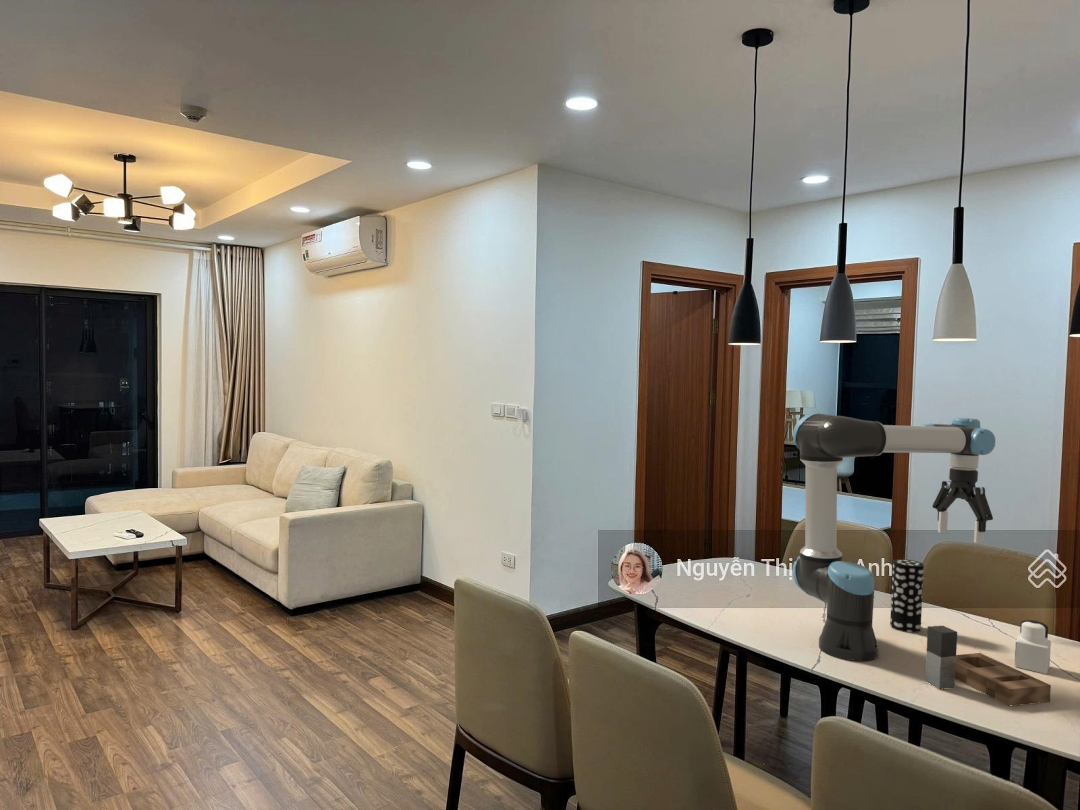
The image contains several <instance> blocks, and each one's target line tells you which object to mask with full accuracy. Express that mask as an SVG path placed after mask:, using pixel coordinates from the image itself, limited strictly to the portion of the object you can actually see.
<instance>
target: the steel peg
mask: <svg viewBox="0 0 1080 810" xmlns="http://www.w3.org/2000/svg"><path fill="white" fill-rule="evenodd" d="M957 643H958V631H957V630H954V629H951V628H950V627H947V626H945V625H933V626H931V625H930V626H927V636H926V655H925V656H926V659H925V660H926V661H925V674H924V675H925V678H924V682H925V681H926V682H928V683H930V684H931V685H930V684H929V685H930V686H932V685H933V686H935V687H937V688H939V689H942V688H943V689H942V690H945V689H944V688H952V689H955V685H956V679H955V670H956V655H957V648H958V647H957V646H958V644H957ZM926 682H925V683H926ZM928 683H927V684H928ZM933 686H932V687H933ZM935 687H934V688H935ZM937 688H936V689H937ZM939 689H938V690H939Z"/></svg>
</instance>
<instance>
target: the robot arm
mask: <svg viewBox="0 0 1080 810" xmlns="http://www.w3.org/2000/svg"><path fill="white" fill-rule="evenodd" d="M792 440H793V443H794V446H796V448H797V449H799V453H800V454H799V459H800V461H801V462H802V463H803V465H805V499H804V500H805V503H804V504H805V507H804V509H805V511H804V512H805V517H804V518H805V519H804V520H805V522H804V523H805V525H804V527H805V529H804V530H805V531H804V532H805V535H804V536H805V538H804V539H805V540H804V542H805V543H804V544H805V545H804V546H803V547H802V548H801V549H800V550H799V556H797V558H796V560H795V561H794V562H793V565H792V578H793V580H794V583H795V585H796V586H797V587H798V588H799V589H800V590H801V591H803V592H804V593H805V594H807V595H808V596H810V597H813V598H815V599H817V600H819V601H821V602H824V603H825V604H826V620H825V622H824V625H823V627H822V631H821V633H820V635H819V638H818V648H819V649H820V651H823V652H824V653H826V654H828V655H830V656H833V657H836V658H839V659H843V660H849V661H859V662H861V661H863V662H864V661H867V662H868V661H872V660H875V659H877V658H878V656H879V645H878V642H877V639H876V635H875V632H874V628H873V616H874V599H875V597H874V596H875V589H876V585H875V576H874V573H873V571H871V569H869V568H867V567H865V566H863V565H861V564H858V563H854V562H851V561H844V560H843V553H842V552H841V551H840V550H839V549H838V547H837V544H838V543H837V537H838V536H837V535H838V533H837V532H838V531H837V529H838V524H837V523H838V519H837V517H838V516H837V515H838V513H837V511H838V510H837V509H838V508H837V507H838V502H837V501H838V466H839V465H840V464H842V462H843V461H844V460H843V459H844V458H854V457H855V458H857V457H877V456H881V454H883V453H898V454H899V453H900V454H901V453H902V454H903V453H907V454H908V453H909V454H910V453H911V454H912V453H913V454H914V453H915V454H917V453H918V454H926V453H927V454H950V456H949V457H950V459H949V466H950V467H951V468H950V469H949V473H948V475H949V476H948V477H949V478H948V479H949V480H943V481H942V482H941V487H940V489H939V491H938V493H937V496H936V497H935V500H934V502H933V503H932V509H935V510H936V511H937V521H938V525H937V526H938V527H937V533H940V534H941V533H943V534H944V533H948V522H949V521H948V519H949V518H948V517H949V512H948V508H949V507H950V506H951V505H953V503H954V502H955V501H956V500H957V499H960V500H965V502H967V504H968V505H969V507H970V509H971V510H972V512H973V515H974V516H975V518H976V520H975V521H974V533H973V535H974V536H973V543H976V544H979V543H981V544H982V543H984V540H985V539H984V538H985V537H984V536H985V532H986V531H987V522H988V521H992V520H994V517H993V514H992V511H991V508H990V505H989V502H988V500H987V496H986V488H985V487H984V486H982V487H981V486H977V487H976V483H978V480H979V479H978V478H979V471H978V470H977V469H979V461H980V460H979V458H980V456H986V455H987V456H988V455H989V454H990V453H992V452H993V450H994V449H995V447H996V436H995V434H994V433H993V432H992V431H991V430H990V429H988V428H982V427H981V421H980V420H979V419H977V418H969V417H968V418H967V417H954V418H952V420H951V423H950V424H944V423H943V424H941V423H924V424H921V425H897V424H895V425H892V424H890V425H889V424H883V423H881V422H879V421H876V420H874V421H872V420H866V419H864V420H863V419H859V418H854V417H848V416H843V415H832V414H825V413H811V414H807V415H804V416H802V417H801V418H800V419H799V420H798V421H797V422H796V423H795V425H794V427H793V431H792Z"/></svg>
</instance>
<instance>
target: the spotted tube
mask: <svg viewBox="0 0 1080 810" xmlns="http://www.w3.org/2000/svg"><path fill="white" fill-rule="evenodd" d="M924 567H925V565H924V563H923V562H920V561H917V560H912V559H902V558H897V559H893V561H892V573H891V574H892V576H891V577H892V579H891V596H890V597H891V598H890V599H891V600H890V602H891V603H890V619H889V620H890V621H889V622H890V623H889V625H890V627H891V629H894V630H895V631H900V632H905V633H919V632H921V630H922V609H923V608H922V607H923V590H924V589H923V588H924V586H923V585H924V570H925V569H924Z"/></svg>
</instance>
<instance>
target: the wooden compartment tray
mask: <svg viewBox="0 0 1080 810" xmlns="http://www.w3.org/2000/svg"><path fill="white" fill-rule="evenodd" d="M955 680H957V681H959V682H960V683H963V684H964V685H967V686H969V687H970V686H971V687H970V688H972V687H973V688H972V689H974V688H975V690H976V689H977V690H976V691H978V690H979V692H980V691H981V692H980V693H982V692H983V693H982V694H984V693H985V694H984V695H986V694H987V695H986V696H988V695H989V696H988V697H990V696H991V698H992V697H993V698H992V699H994V698H995V699H994V700H996V699H997V700H998V702H999V701H1000V703H1001V702H1002V703H1001V704H1003V703H1004V704H1003V705H1005V704H1006V706H1007V705H1008V706H1007V707H1011V706H1010V705H1016V706H1021V705H1020V704H1025V705H1031V704H1030V703H1035V704H1042V703H1041V702H1044V703H1050V702H1051V691H1052V689H1051V688H1052V685H1051V684H1049V683H1047V682H1045V681H1044V680H1043V681H1042V680H1040V679H1038V678H1036V677H1034V676H1032V675H1029V674H1027V673H1025V672H1023V671H1021V670H1018V669H1016V668H1014V667H1012V666H1009V665H1007V664H1006V663H1003V662H1001V661H999V660H996V659H994V658H992V657H990V656H987V655H985V654H983V653H981V652H978V653H976V652H975V653H974V652H973V653H964V654H963V653H962V654H956V670H955ZM997 700H996V701H997ZM1049 701H1050V702H1049ZM1039 702H1040V703H1039Z"/></svg>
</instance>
